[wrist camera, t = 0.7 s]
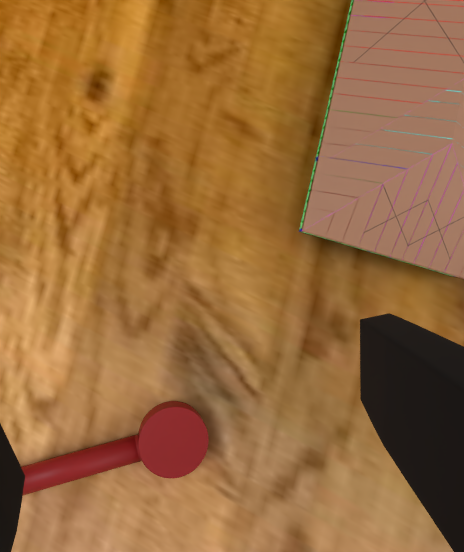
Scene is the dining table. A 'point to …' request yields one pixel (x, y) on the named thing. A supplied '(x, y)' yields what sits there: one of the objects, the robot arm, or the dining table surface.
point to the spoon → (133, 450)
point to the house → (395, 136)
